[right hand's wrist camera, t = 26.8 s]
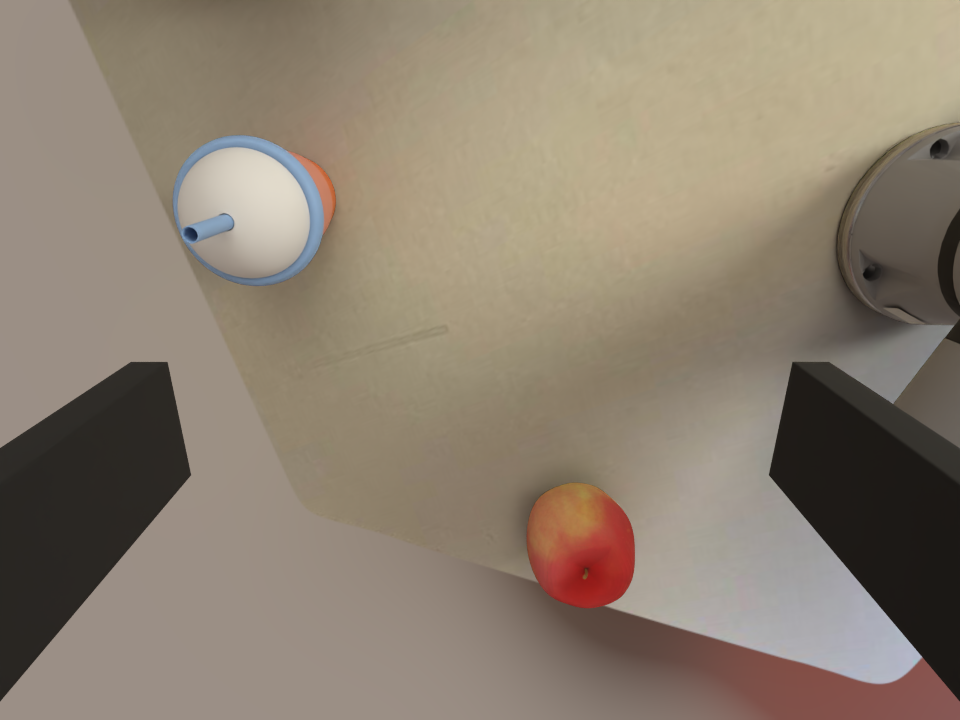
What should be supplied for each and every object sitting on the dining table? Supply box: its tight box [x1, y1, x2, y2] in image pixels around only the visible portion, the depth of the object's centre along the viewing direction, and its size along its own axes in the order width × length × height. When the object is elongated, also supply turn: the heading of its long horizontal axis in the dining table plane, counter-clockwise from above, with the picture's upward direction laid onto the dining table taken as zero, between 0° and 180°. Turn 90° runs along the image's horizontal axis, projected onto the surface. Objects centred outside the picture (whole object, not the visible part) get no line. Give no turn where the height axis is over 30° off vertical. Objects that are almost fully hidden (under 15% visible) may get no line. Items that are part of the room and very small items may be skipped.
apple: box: [527, 483, 635, 608], centre depth 51 cm, size 10×10×10 cm
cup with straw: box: [173, 135, 336, 286], centre depth 37 cm, size 9×9×18 cm
